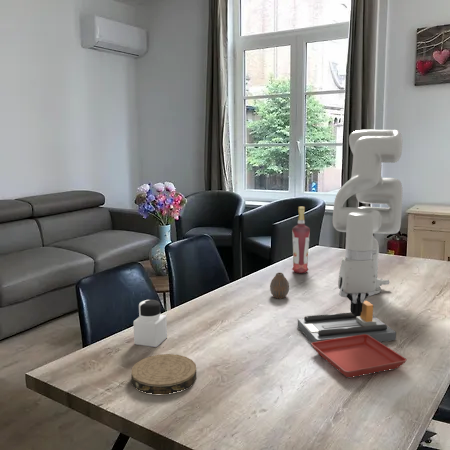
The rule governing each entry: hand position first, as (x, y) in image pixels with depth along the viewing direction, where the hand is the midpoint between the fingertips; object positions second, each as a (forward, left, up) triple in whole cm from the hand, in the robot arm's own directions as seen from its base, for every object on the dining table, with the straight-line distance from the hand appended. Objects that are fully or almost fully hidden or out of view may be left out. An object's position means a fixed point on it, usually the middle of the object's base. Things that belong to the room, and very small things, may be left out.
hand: (356, 314), depth 150 cm
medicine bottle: (+60, -7, -6) cm, 61 cm away
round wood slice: (+58, +16, -6) cm, 61 cm away
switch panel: (+3, 0, -6) cm, 7 cm away
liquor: (-6, -64, -6) cm, 64 cm away
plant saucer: (+8, +18, -6) cm, 20 cm away
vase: (+12, -36, -6) cm, 38 cm away
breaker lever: (-3, 0, -3) cm, 4 cm away
